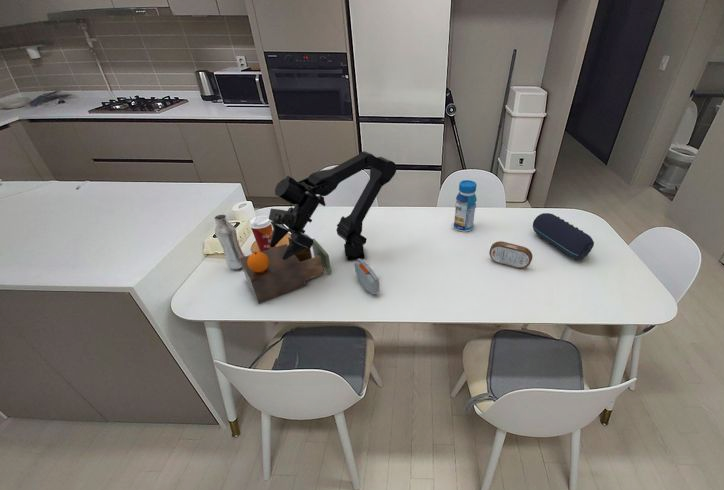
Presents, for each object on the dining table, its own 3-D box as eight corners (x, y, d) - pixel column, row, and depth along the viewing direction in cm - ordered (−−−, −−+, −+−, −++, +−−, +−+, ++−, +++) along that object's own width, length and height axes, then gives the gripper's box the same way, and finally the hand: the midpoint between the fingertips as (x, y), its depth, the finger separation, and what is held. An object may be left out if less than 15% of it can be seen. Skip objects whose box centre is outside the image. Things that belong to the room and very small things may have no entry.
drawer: (320, 255, 130) (317, 237, 126) (334, 271, 122) (331, 253, 118) (278, 269, 123) (273, 251, 118) (290, 288, 115) (286, 269, 110)
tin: (530, 267, 126) (535, 248, 121) (528, 272, 124) (533, 252, 119) (489, 257, 131) (492, 238, 126) (487, 261, 129) (490, 242, 124)
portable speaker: (593, 259, 130) (602, 236, 125) (574, 266, 127) (582, 243, 121) (545, 228, 149) (551, 207, 143) (527, 234, 145) (532, 212, 139)
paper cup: (273, 259, 130) (263, 226, 121) (254, 256, 131) (243, 224, 122) (283, 247, 136) (275, 215, 127) (265, 245, 137) (255, 213, 129)
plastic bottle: (236, 273, 122) (217, 224, 110) (224, 267, 125) (205, 218, 113) (251, 264, 127) (235, 215, 115) (239, 259, 130) (222, 210, 118)
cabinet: (291, 266, 126) (286, 243, 121) (306, 285, 117) (300, 262, 112) (247, 281, 119) (239, 258, 113) (258, 303, 110) (250, 280, 104)
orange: (272, 263, 111) (267, 245, 107) (270, 274, 107) (265, 257, 103) (251, 265, 110) (245, 248, 106) (249, 277, 105) (242, 259, 101)
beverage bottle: (474, 232, 146) (480, 187, 134) (454, 232, 146) (458, 187, 134) (471, 222, 152) (477, 178, 140) (452, 222, 153) (456, 178, 141)
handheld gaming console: (381, 296, 113) (379, 277, 109) (373, 299, 112) (371, 280, 107) (361, 273, 123) (359, 254, 118) (354, 275, 122) (351, 257, 117)
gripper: (269, 188, 108) (242, 231, 109) (296, 210, 97) (267, 257, 97) (297, 204, 117) (273, 244, 117) (325, 226, 105) (298, 269, 106)
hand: (277, 252), depth 109 cm, fingers open, 9 cm apart
